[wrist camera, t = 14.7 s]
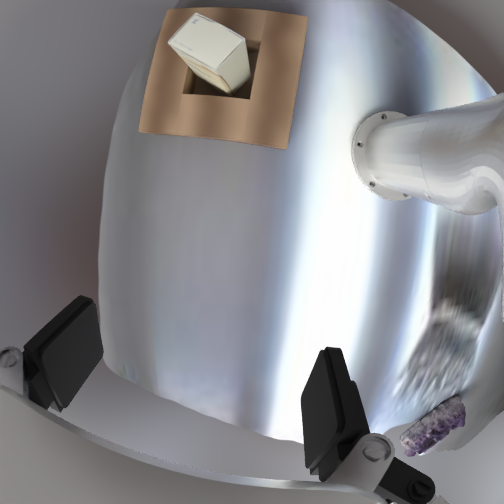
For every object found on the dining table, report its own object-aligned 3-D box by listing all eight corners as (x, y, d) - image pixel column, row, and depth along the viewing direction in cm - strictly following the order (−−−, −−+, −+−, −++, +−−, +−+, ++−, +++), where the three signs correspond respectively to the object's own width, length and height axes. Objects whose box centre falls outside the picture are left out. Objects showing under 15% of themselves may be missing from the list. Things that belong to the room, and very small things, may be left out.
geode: (447, 389, 47) (466, 415, 38) (461, 393, 50) (477, 416, 41) (391, 438, 53) (403, 465, 44) (410, 438, 56) (422, 462, 47)
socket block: (304, 32, 28) (308, 17, 23) (284, 149, 34) (286, 148, 29) (178, 23, 28) (167, 9, 23) (154, 134, 34) (138, 131, 29)
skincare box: (196, 75, 30) (163, 43, 18) (217, 51, 29) (194, 10, 17) (232, 99, 31) (213, 72, 19) (254, 75, 30) (246, 38, 18)
